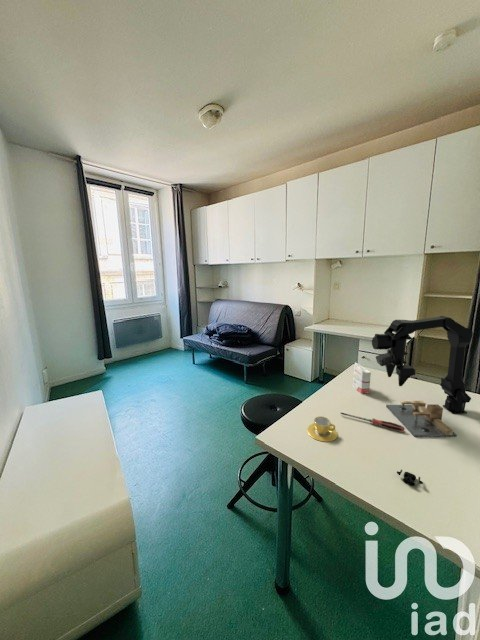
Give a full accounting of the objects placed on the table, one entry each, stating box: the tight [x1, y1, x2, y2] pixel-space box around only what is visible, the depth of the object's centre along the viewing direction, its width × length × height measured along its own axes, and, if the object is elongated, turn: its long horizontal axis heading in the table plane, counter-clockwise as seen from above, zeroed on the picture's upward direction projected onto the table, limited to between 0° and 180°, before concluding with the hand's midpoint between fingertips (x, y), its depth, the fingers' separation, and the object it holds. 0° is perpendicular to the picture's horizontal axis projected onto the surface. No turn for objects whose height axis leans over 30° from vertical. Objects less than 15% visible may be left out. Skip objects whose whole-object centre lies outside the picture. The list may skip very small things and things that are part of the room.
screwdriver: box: [340, 412, 406, 432], centre depth 110 cm, size 25×3×3 cm, turn 59°
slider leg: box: [413, 403, 444, 422], centre depth 109 cm, size 10×3×6 cm, turn 87°
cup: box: [306, 416, 339, 443], centre depth 105 cm, size 12×12×5 cm
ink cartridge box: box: [352, 362, 372, 394], centre depth 138 cm, size 9×5×15 cm, turn 6°
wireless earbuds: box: [396, 469, 424, 487], centre depth 81 cm, size 7×2×5 cm
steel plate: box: [385, 404, 458, 438], centre depth 111 cm, size 16×22×1 cm
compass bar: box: [399, 400, 454, 435], centre depth 111 cm, size 10×22×3 cm, turn 177°
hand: (394, 381), depth 116 cm, fingers open, 9 cm apart
